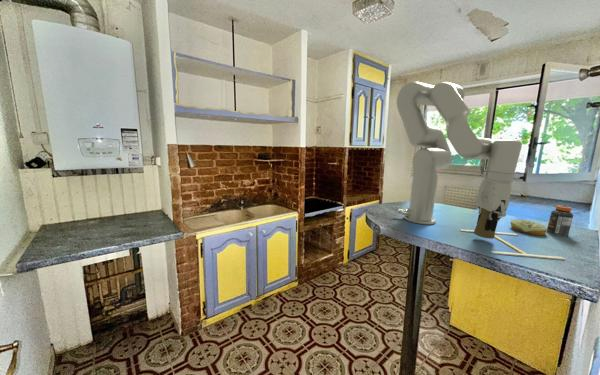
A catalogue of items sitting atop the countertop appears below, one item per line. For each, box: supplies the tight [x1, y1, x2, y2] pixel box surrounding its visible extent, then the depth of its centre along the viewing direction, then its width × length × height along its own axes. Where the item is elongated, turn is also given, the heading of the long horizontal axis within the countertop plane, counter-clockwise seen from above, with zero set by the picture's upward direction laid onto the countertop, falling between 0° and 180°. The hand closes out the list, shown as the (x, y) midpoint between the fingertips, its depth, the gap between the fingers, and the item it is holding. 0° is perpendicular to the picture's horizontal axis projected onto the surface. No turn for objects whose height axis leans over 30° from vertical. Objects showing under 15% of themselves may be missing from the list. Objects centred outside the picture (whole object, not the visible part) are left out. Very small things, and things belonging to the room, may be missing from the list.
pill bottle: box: [546, 204, 574, 237], centre depth 94 cm, size 6×6×11 cm
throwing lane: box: [459, 228, 566, 261], centre depth 84 cm, size 20×20×1 cm
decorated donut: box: [510, 219, 548, 237], centre depth 97 cm, size 10×11×4 cm
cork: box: [473, 208, 498, 240], centre depth 84 cm, size 6×6×11 cm
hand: (485, 227), depth 85 cm, fingers closed on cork, 3 cm apart
